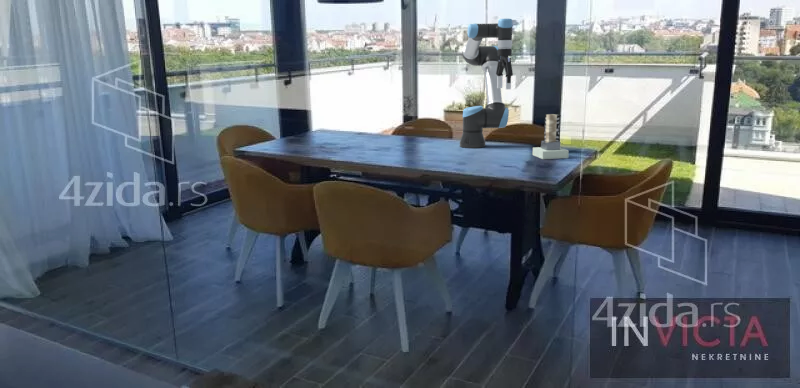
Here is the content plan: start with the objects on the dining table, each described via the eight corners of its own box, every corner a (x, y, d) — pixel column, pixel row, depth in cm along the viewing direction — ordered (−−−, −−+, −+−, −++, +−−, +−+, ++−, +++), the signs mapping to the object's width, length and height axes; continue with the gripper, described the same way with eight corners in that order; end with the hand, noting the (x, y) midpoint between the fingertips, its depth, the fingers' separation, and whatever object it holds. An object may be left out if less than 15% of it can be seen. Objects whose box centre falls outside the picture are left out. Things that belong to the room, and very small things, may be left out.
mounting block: (542, 159, 320) (542, 151, 319) (532, 154, 334) (532, 147, 333) (568, 158, 322) (568, 150, 321) (557, 153, 336) (557, 146, 335)
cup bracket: (546, 150, 323) (546, 142, 322) (540, 148, 330) (541, 140, 329) (560, 149, 324) (560, 142, 323) (554, 147, 331) (554, 140, 330)
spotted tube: (559, 150, 348) (561, 114, 344) (558, 152, 340) (559, 115, 336) (544, 149, 351) (545, 114, 346) (542, 151, 343) (544, 115, 339)
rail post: (548, 149, 325) (549, 115, 321) (545, 148, 329) (546, 114, 325) (555, 149, 325) (556, 114, 321) (552, 148, 329) (553, 114, 325)
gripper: (519, 48, 321) (518, 89, 326) (503, 48, 345) (502, 87, 350) (505, 48, 320) (504, 90, 325) (490, 48, 344) (490, 87, 349)
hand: (503, 88), depth 337 cm, fingers open, 13 cm apart
